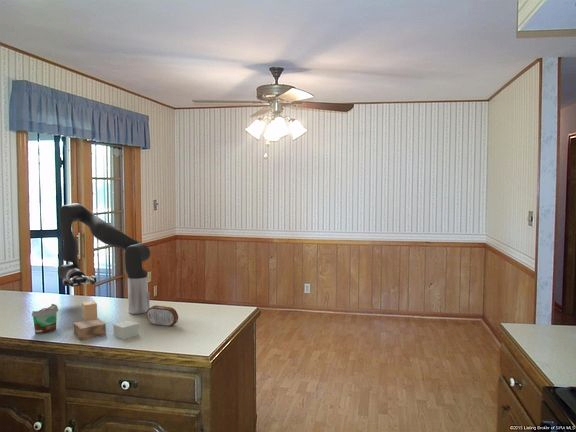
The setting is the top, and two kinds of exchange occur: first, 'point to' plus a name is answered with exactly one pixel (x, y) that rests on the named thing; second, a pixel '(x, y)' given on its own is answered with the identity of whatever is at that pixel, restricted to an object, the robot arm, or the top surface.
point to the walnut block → (89, 329)
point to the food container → (45, 319)
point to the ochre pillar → (89, 310)
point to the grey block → (125, 329)
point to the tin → (162, 315)
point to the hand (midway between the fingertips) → (83, 283)
